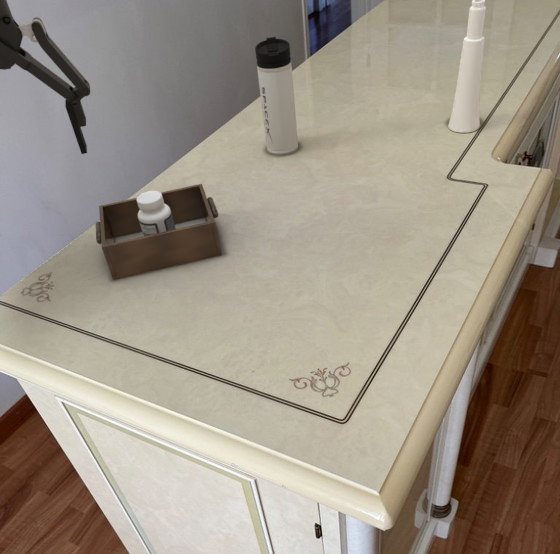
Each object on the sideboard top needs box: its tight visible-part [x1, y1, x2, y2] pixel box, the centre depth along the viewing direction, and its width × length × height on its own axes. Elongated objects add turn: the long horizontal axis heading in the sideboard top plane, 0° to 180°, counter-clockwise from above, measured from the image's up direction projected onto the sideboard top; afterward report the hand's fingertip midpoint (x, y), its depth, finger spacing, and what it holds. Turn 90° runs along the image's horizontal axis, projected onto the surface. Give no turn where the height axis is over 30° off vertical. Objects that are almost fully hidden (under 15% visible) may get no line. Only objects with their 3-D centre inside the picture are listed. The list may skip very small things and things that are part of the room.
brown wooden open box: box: [95, 183, 223, 281], centre depth 94 cm, size 19×13×7 cm
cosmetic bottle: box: [447, 0, 487, 134], centre depth 110 cm, size 6×6×22 cm
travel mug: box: [254, 36, 299, 157], centre depth 111 cm, size 6×7×20 cm
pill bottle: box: [136, 190, 177, 236], centre depth 93 cm, size 5×5×9 cm
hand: (35, 159), depth 82 cm, fingers open, 13 cm apart
